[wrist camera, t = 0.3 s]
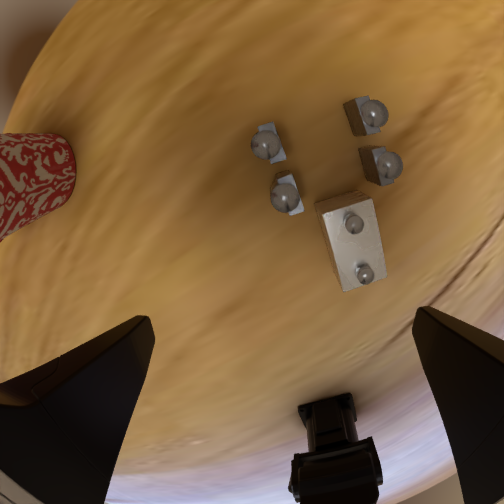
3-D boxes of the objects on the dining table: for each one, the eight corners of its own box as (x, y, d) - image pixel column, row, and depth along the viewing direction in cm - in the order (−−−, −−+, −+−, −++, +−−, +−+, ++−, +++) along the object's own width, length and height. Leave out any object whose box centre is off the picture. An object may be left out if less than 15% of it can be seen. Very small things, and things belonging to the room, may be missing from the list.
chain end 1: (374, 130, 18) (393, 129, 15) (260, 164, 20) (259, 169, 17) (364, 99, 17) (381, 92, 14) (248, 133, 19) (244, 131, 16)
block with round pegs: (372, 258, 22) (391, 282, 18) (333, 271, 23) (346, 298, 19) (356, 189, 20) (376, 201, 16) (313, 202, 21) (324, 217, 17)
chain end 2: (387, 174, 19) (406, 180, 16) (276, 209, 21) (278, 221, 18) (378, 142, 18) (397, 143, 15) (265, 177, 20) (264, 184, 17)
